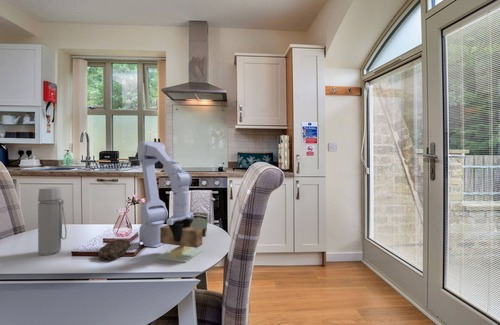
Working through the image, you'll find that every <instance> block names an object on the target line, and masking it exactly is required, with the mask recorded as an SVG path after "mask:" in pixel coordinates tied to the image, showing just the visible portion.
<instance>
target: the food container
mask: <svg viewBox="0 0 500 325" xmlns="http://www.w3.org/2000/svg"><path fill="white" fill-rule="evenodd" d="M190 219H193V222H192V224H191V226H190V228H200V229H202V238H203V237H206V236H207V230H208V221H209V220H210V216H209V214H208V213H206V212H193V217H191V218H190Z"/></svg>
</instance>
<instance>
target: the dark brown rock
mask: <svg viewBox="0 0 500 325" xmlns="http://www.w3.org/2000/svg"><path fill="white" fill-rule="evenodd" d="M131 246H132V244H131V241H130V240H129V239H121V238H120V239H116V240H115V241H109V242H107V243H106V244H105V245H104V246H101V247H100V248H99V249H98V251H97V252H98V254H97V256H98V260H99V261H106V262H111V261H115V260H117V259H118V258H120V257H122V256H124V255H126V254H125V253H127V251H128V250H129V249H130V247H131Z"/></svg>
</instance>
